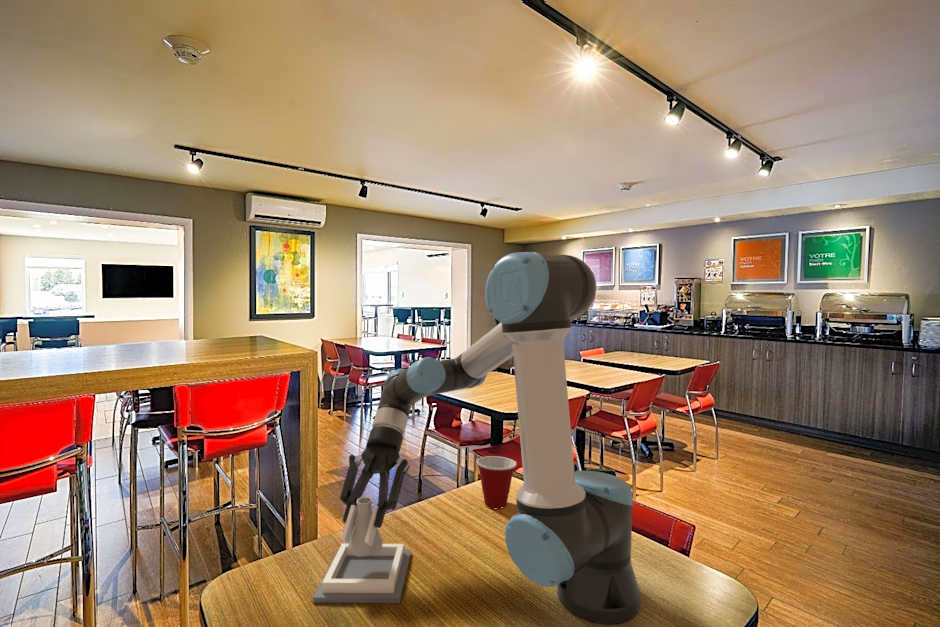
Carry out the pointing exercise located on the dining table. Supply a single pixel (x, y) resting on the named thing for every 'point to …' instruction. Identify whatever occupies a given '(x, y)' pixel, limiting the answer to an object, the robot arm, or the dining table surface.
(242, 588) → the dining table surface
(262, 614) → the dining table surface
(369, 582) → the holder
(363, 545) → the flask
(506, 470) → the plastic cup
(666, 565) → the dining table surface
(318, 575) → the dining table surface
